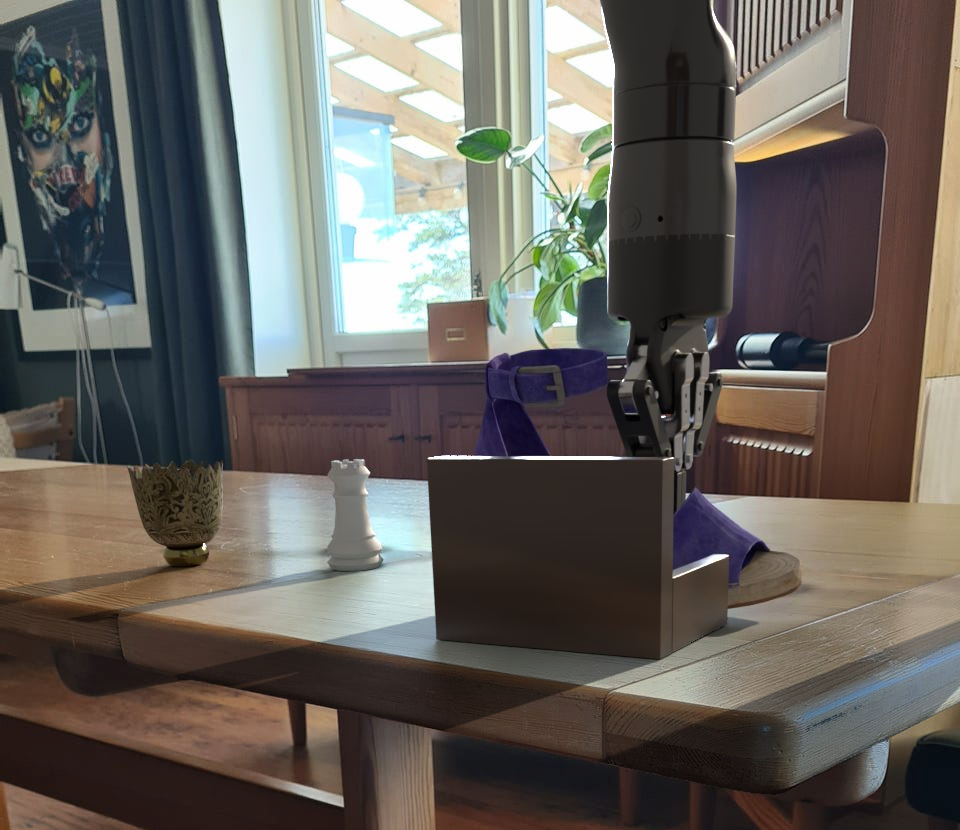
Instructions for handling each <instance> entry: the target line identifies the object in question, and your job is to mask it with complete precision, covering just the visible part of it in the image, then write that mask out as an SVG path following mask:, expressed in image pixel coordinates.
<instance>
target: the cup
mask: <svg viewBox="0 0 960 830" xmlns="http://www.w3.org/2000/svg"><path fill="white" fill-rule="evenodd" d="M126 467H127V472H128V474H129V480H130V483H131V487H132V488H131V489H132V491H133V496H134V500H135V504H136V507H137V512H138V515H139V519H140V521H141V524H142V526H143V528H144V529H143V530H145V533H146V534H147V536H148V537H149V538H150V539H151V540H152V541H154V542H155V543H157V544H158V545H161V546H164V550H163V553H162V557H163V559H164V560H165V562H166V563H167V565H168V566H172V567H193V566H199V565H203V564H204V563H206V562H207V561H208V559H209V555H210V550H209V549H208V547H207V545H206V544H207V543H209V542H210V541H212V540H213V539H214V538H215V537H216V535H217V534H218V533H219V531H220V529H221V525H222V519H223V505H224V503H223V502H224V501H223V498H224V496H223V495H224V494H223V493H224V492H223V491H224V489H223V487H224V485H223V484H224V483H223V478H224V477H223V475H224V474H223V467H224V463H223V460H221V461H220V462H219V461H218V460H217V461H216V462H215V464H214V466H213V467H212V465H211V464H208V465H207V467H206V464H205V462H204V461H203V460H201V461H200V462H199V463H198V465H197V464H196V462H195V461H194V460H192V458H191V459H188V460H185V462H184V463H182V464H181V465H180V466H179V467H177V465H176V463H175V462H174V461H172V460H171V461H170V463H169V465H168V466H167V467H162V466H161V465H160V464H159V463H158V462H154V463H153V465H152V468H151V467H150V466H149V465H148V464H147V463H144V464H143V465H142V469H141V470H140V468H139V466H138V465H134V466H133V469H132V468H131V467H130V466H129V465H127V466H126Z"/></svg>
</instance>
